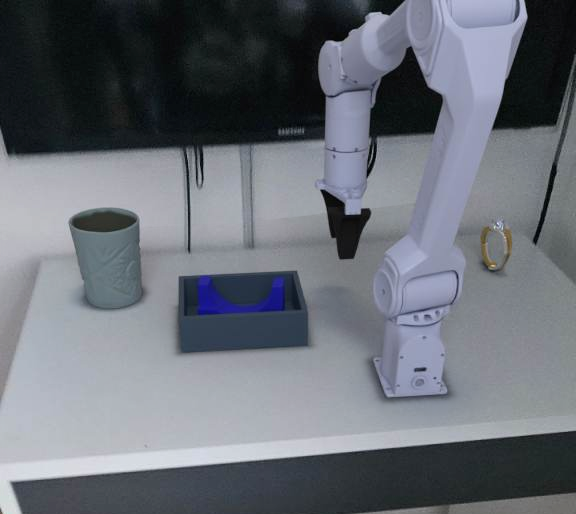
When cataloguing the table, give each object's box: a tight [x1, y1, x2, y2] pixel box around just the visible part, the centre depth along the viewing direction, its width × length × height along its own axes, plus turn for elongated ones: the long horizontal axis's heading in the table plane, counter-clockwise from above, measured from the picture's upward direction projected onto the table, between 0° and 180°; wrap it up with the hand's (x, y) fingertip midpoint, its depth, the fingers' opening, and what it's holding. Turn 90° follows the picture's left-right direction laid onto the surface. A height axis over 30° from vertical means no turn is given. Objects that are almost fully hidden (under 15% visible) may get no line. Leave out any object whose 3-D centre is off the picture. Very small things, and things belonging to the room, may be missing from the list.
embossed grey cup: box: [68, 207, 143, 310], centre depth 115 cm, size 10×10×12 cm
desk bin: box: [177, 270, 309, 353], centre depth 110 cm, size 14×18×5 cm
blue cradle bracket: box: [197, 276, 285, 315], centre depth 109 cm, size 12×4×6 cm, turn 86°
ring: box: [480, 218, 513, 271], centre depth 123 cm, size 7×3×8 cm, turn 16°
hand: (342, 247), depth 109 cm, fingers open, 7 cm apart
